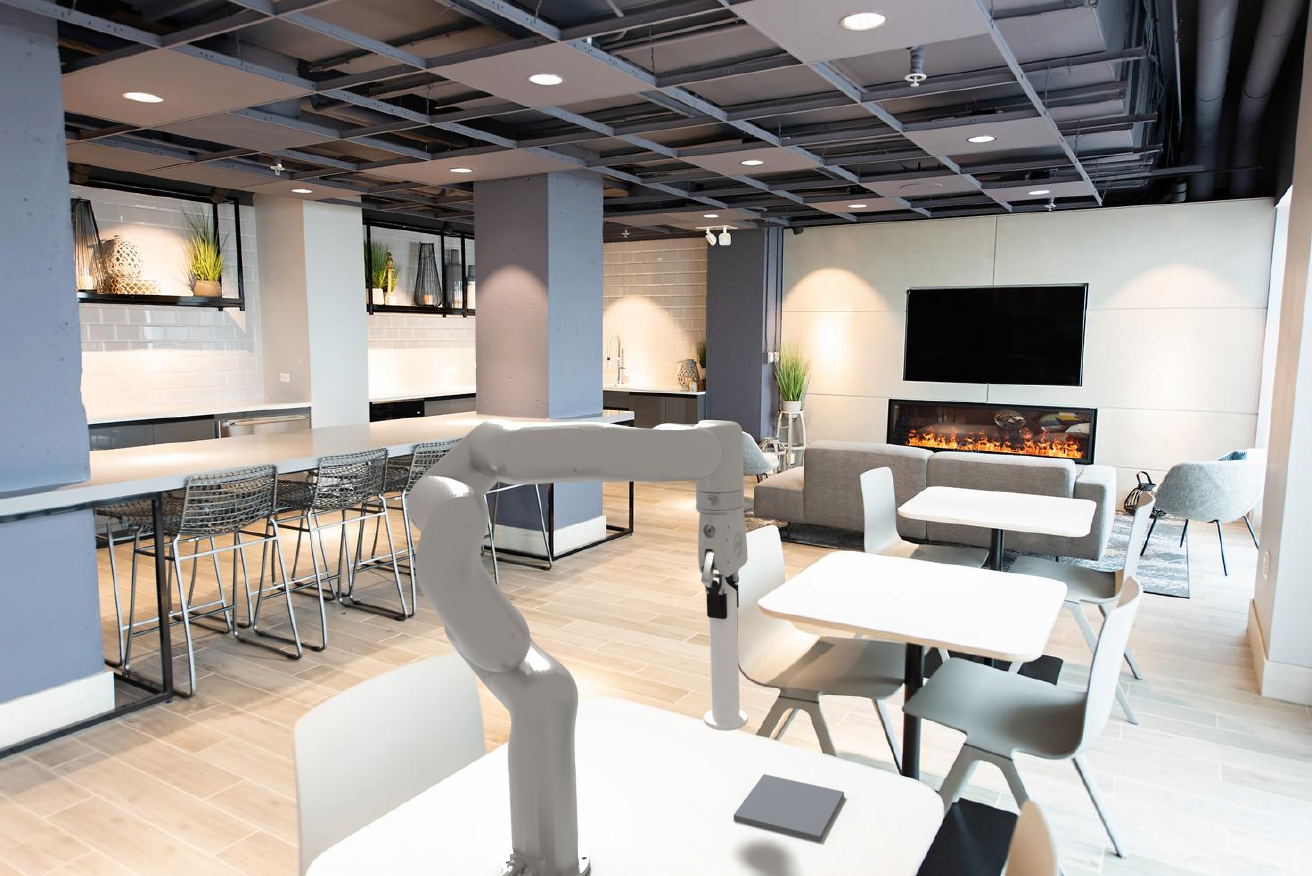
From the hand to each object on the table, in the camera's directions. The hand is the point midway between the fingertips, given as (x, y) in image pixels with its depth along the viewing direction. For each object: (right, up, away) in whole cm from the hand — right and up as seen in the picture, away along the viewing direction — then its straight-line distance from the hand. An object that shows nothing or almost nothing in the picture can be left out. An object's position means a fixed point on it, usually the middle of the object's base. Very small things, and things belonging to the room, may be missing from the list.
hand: (723, 611), depth 136 cm
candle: (+1, -18, +2) cm, 19 cm away
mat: (+11, -32, +2) cm, 34 cm away
